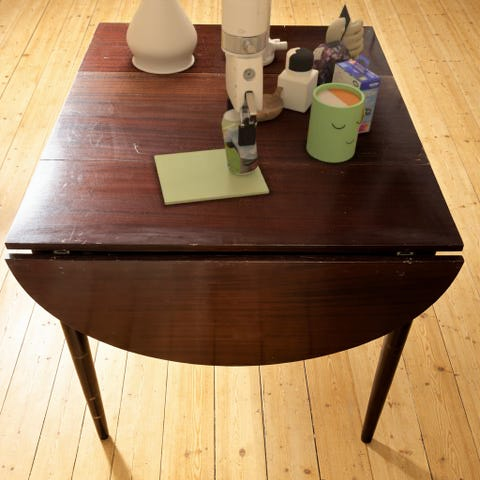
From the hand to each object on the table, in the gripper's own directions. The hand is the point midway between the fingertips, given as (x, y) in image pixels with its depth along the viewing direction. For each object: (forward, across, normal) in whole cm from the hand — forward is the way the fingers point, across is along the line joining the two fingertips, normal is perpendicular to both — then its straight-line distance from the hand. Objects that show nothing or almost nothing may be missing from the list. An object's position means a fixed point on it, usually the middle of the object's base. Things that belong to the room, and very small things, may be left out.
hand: (240, 131), depth 115 cm
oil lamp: (+9, +21, -11) cm, 25 cm away
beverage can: (+9, 0, 0) cm, 9 cm away
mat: (+9, 0, +6) cm, 11 cm away
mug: (+9, +5, -22) cm, 24 cm away
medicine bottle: (+9, +25, -19) cm, 33 cm away
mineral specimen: (+9, +34, -30) cm, 46 cm away
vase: (+9, +52, +8) cm, 53 cm away
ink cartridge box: (+9, +14, -28) cm, 33 cm away
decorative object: (+9, +44, -37) cm, 58 cm away
